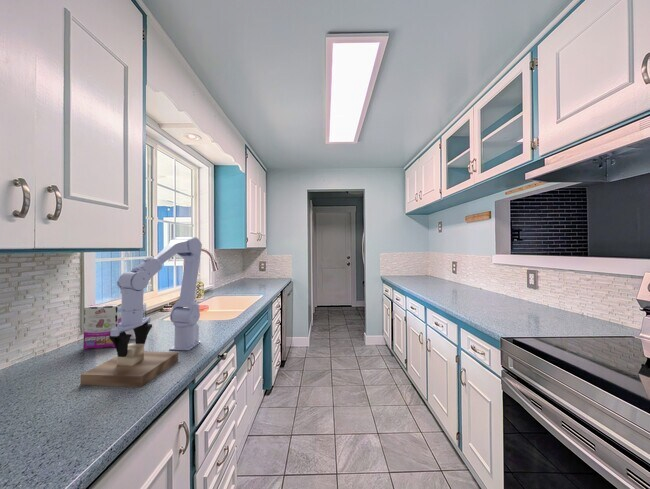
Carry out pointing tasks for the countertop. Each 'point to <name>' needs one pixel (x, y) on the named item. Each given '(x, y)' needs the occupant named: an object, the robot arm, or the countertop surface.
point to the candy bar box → (100, 325)
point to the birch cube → (132, 355)
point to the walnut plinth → (130, 370)
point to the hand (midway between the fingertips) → (131, 351)
